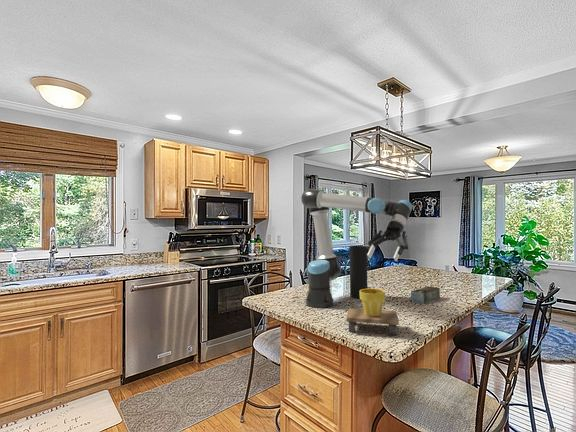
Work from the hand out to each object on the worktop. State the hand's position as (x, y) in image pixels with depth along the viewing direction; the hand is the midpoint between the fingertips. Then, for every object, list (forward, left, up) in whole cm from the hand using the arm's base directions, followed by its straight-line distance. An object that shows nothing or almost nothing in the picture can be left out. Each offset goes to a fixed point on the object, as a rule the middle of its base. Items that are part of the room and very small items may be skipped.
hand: (381, 258), depth 146 cm
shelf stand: (-5, -18, -27) cm, 33 cm away
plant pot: (-4, -18, -22) cm, 29 cm away
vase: (-13, +38, -28) cm, 49 cm away
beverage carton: (+25, +38, -28) cm, 53 cm away
